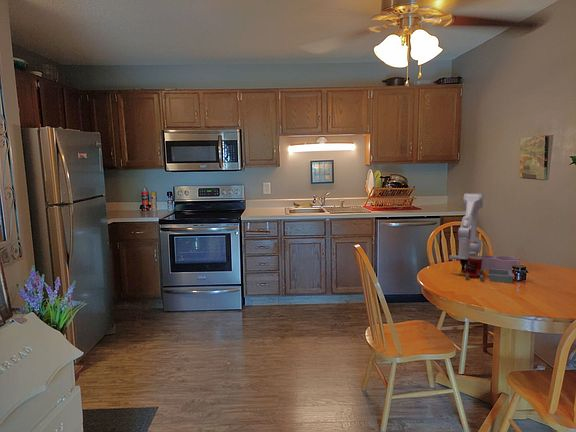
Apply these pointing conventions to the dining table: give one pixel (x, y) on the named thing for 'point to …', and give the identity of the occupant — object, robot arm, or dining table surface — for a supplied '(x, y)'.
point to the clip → (499, 262)
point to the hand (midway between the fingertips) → (463, 272)
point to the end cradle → (500, 275)
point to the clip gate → (481, 275)
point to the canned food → (473, 266)
